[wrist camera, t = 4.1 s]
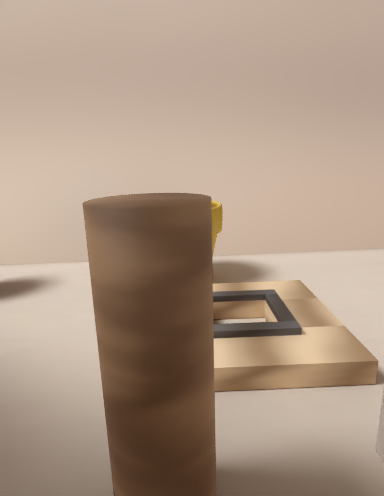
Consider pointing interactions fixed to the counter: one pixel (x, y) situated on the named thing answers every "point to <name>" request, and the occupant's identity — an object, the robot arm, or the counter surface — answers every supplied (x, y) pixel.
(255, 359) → the collar block
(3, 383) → the counter surface
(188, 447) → the peg
